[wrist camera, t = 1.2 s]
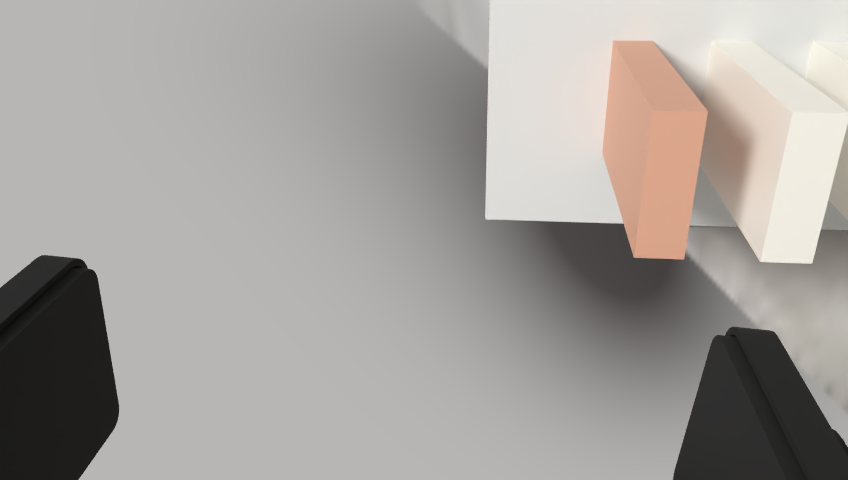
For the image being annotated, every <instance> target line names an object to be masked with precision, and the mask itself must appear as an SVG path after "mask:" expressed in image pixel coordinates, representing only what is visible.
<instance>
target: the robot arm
mask: <svg viewBox="0 0 848 480" xmlns="http://www.w3.org/2000/svg"><path fill="white" fill-rule="evenodd" d="M118 416H119V403H118V397H117V391H116V385H115V379H114V373H113V367H112V362H111V355H110V349H109V343H108V337H107V332H106V325H105V319H104V313H103V307H102V301H101V295H100V290H99V284H98V278H97V275H96V273H95V272H94V271H93V270H91V269H88V268H87V265H86V264H85V262H84V261H83V260H81V259H77V258H67V257H58V256H48V255H42V256H40V257H38V258H36V259H35V260H34V261H33V262H31V264H29V265H28V266H27V267H25V268H24V269H23V270H22V271H20V272H19V273H18V274H17V275H15V276H14V277H13V278H12V279H11V280H9V281H8V282H7V283H6V284H4V285H3V286H2V287H1V288H0V480H78V479H79V478H80V477H81V475H82V474H83V472H84V471H85V470H86V468H87V467H88V465H89V464H90V462H91V461H92V460H93V458H94V457H95V455H96V453H98V451H99V450H100V448H101V447H102V445H103V444H104V443H105V441H106V440H107V438H108V437H109V435H110V434H111V433H112V431H113V430H114V428H115V426H116V423H117V420H118ZM673 480H848V447H847V446H846V444H845V442H844V441H843V439H842V438H841V437H840V435H839V434H838V433H837V432H836V431H835V430H833V429H831V427H830V425H829V423H828V422H827V420H826V418H825V417H824V415H823V413H822V411H821V410H820V408H819V406H818V405H817V403H816V401H815V399H814V398H813V396H812V394H811V393H810V391H809V389H808V387H807V386H806V384H805V382H804V381H803V379H802V377H801V376H800V374H799V372H798V370H797V369H796V367H795V365H794V363H793V362H792V360H791V358H790V357H789V355H788V353H787V351H786V350H785V348H784V346H783V345H782V343H781V341H780V339H779V338H778V336H777V335H776V334H775V332H773V331H769V330H760V329H750V328H740V327H731V328H730V329H729V330H728V331H727V332H726V335H725V336H722V335H717V336H715V337H714V339H713V341H712V343H711V346H710V350H709V353H708V357H707V360H706V364H705V367H704V371H703V374H702V377H701V381H700V384H699V388H698V392H697V395H696V398H695V402H694V405H693V409H692V412H691V415H690V419H689V422H688V426H687V429H686V433H685V436H684V440H683V443H682V447H681V450H680V454H679V457H678V461H677V464H676V467H675V472H674V477H673Z"/></svg>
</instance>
